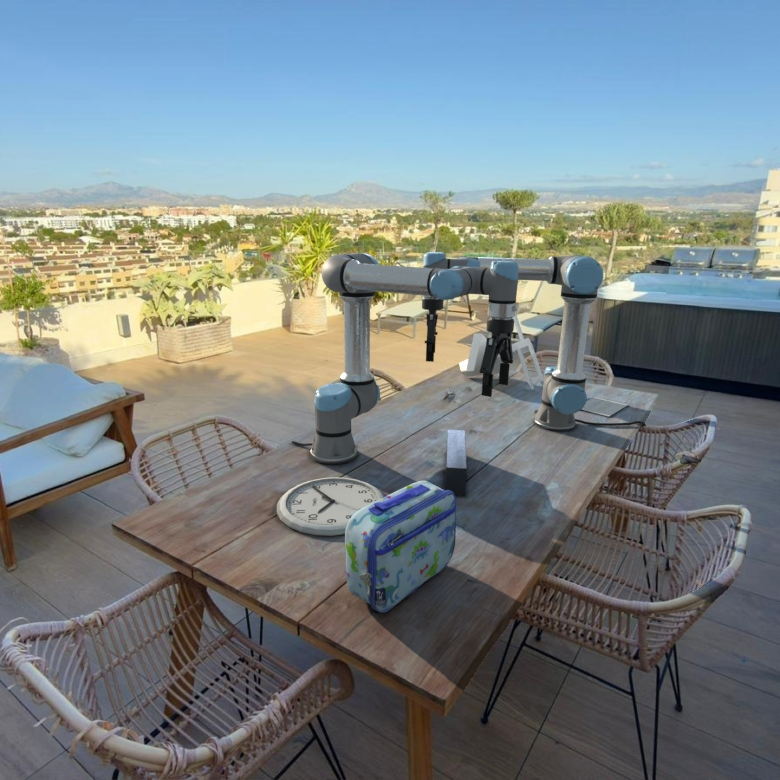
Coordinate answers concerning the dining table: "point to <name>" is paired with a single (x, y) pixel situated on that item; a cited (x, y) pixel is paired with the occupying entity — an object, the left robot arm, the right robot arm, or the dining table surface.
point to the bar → (456, 462)
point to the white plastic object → (518, 349)
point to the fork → (449, 393)
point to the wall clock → (325, 504)
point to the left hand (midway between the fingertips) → (495, 390)
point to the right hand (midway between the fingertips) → (430, 356)
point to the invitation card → (603, 406)
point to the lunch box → (399, 543)
